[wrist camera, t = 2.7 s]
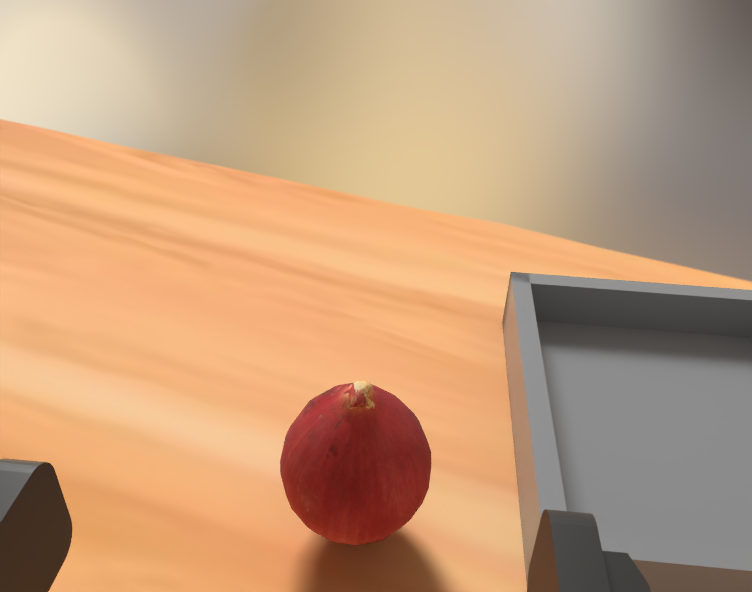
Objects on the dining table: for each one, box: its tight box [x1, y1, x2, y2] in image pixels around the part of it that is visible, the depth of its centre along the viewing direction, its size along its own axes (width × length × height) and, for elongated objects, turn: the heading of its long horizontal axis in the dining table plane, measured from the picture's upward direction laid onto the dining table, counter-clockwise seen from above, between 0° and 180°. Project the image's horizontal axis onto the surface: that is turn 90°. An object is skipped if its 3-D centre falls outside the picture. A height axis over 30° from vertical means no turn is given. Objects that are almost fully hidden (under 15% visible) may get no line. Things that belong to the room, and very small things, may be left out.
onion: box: [280, 381, 431, 545], centre depth 27 cm, size 6×6×8 cm
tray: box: [502, 272, 752, 592], centre depth 33 cm, size 16×18×4 cm
